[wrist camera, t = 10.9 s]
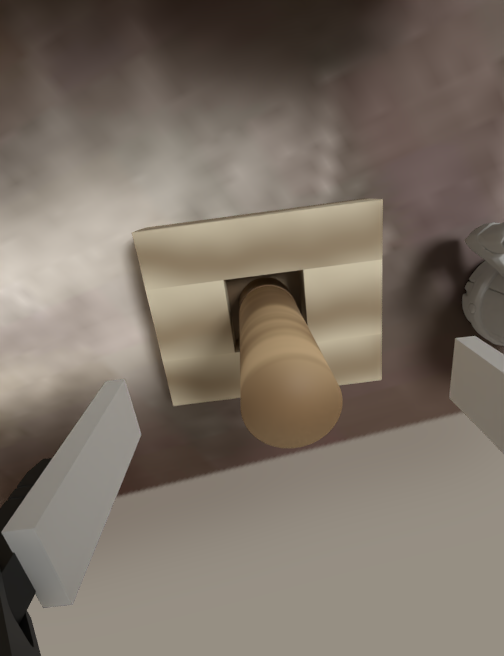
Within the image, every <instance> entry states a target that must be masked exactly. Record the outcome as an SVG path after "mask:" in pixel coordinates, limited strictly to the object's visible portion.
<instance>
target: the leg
mask: <svg viewBox="0 0 504 656" xmlns="http://www.w3.org/2000/svg"><path fill="white" fill-rule="evenodd" d="M239 326H240V396H241V415H242V419H243V421H244V424H245V425H246V427H247V429H248V430H249V431H250V432H251V434H252V435H254V436H255V437H256V438H257V439H259V440H260V441H262V442H264V443H266V444H268V445H271V446H275V447H280V448H297V447H303V446H306V445H309V444H311V443H314V442H316V441H318V440H319V439H321V438H322V437H324V436H325V435H326V434H327V433H328V432H329V431H330V430H331V429H332V428H333V427H334V425H335V424H336V423H337V421H338V419H339V416H340V414H341V410H342V393H341V390H340V387H339V385H338V383H337V381H336V379H335V377H334V375H333V373H332V371H331V370H330V368H329V366H328V364H327V362H326V360H325V358H324V356H323V354H322V353H321V351H320V349H319V347H318V345H317V343H316V341H315V339H314V337H313V335H312V334H311V332H310V330H309V328H308V326H307V324H306V322H305V320H304V318H303V316H302V315H301V313H300V311H299V309H298V307H297V304H296V302H295V300H294V298H293V296H292V295H291V294H290V292H289V290H288V288H287V287H286V286H285V285H284V284H283V283H282V282H281V281H279V280H277V279H274V278H270V277H262V278H258V279H255V280H253V281H251V282H250V283H249V284H247V285H246V287H245V288H244V289H243V291H242V293H241V295H240V299H239Z"/></svg>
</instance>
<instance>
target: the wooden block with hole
mask: <svg viewBox="0 0 504 656" xmlns="http://www.w3.org/2000/svg"><path fill="white" fill-rule="evenodd" d="M382 225H383V199H357V200H350V201H342V202H335V203H327V204H320V205H312V206H305V207H297V208H290V209H282V210H275V211H267V212H260V213H252V214H245V215H237V216H230V217H222V218H215V219H207V220H200V221H192V222H185V223H177V224H170V225H162V226H155V227H147V228H143V229H141V230H138V231H135V232H132V236H133V240H134V244H135V248H136V252H137V257H138V261H139V265H140V269H141V273H142V278H143V282H144V286H145V290H146V294H147V298H148V303H149V307H150V311H151V315H152V319H153V323H154V328H155V332H156V336H157V340H158V344H159V348H160V353H161V357H162V361H163V365H164V369H165V373H166V378H167V382H168V386H169V390H170V394H171V399H172V403H173V406H178V405H186V404H194V403H202V402H210V401H218V400H226V399H233V398H241V396H240V326H239V299H240V295H241V293H242V291H243V289H244V288H245V287H246V285H247V284H249V283H250V282H251V281H253V280H255V279H258V278H262V277H270V278H274V279H277V280H279V281H281V282H282V283H283V284H284V285H285V286H286V287H287V288H288V290H289V292H290V294H291V295H292V296H293V298H294V300H295V302H296V304H297V307H298V309H299V311H300V313H301V315H302V316H303V318H304V320H305V322H306V324H307V326H308V328H309V330H310V332H311V334H312V335H313V337H314V339H315V341H316V343H317V345H318V347H319V349H320V351H321V353H322V354H323V356H324V358H325V360H326V362H327V364H328V366H329V368H330V370H331V371H332V373H333V375H334V377H335V379H336V381H337V383H338V385H345V384H353V383H361V382H369V381H377V380H382Z"/></svg>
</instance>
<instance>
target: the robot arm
mask: <svg viewBox="0 0 504 656" xmlns="http://www.w3.org/2000/svg"><path fill="white" fill-rule="evenodd" d="M449 398H450V399H451V400H452V401H453V402H454V403H455V404H456V405H457V406H458V407H459V408H460V409H461V411H462V412H463V413H464V414H465V415H466V416H467V417H468V418H469V419H470V420H471V421H472V422H473V423H474V424H475V425H476V426H477V427H478V428H479V429H480V430H481V431H482V432H483V433H484V434H485V435H486V436H487V437H488V438H489V439H490V440H491V441H492V442H493V443H494V444H495V445H496V446H497V447H498V449H499V450H500V451H501V452H502V453H503V454H504V354H502V353H501V352H499V351H498V350H496V349H494V348H493V347H491V346H490V345H488V344H487V343H485V342H484V341H482V340H481V339H479V338H478V337H476V336H469V337H461V338H455V345H454V355H453V365H452V375H451V385H450V395H449ZM140 437H141V432H140V428H139V425H138V421H137V418H136V415H135V411H134V408H133V405H132V401H131V398H130V395H129V391H128V388H127V385H126V381H125V379H120V380H111V381H106V382H105V383H104V385H103V386H102V388H101V389H100V390H99V392H98V393H97V395H96V396H95V398H94V399H93V401H92V402H91V403H90V405H89V406H88V408H87V409H86V411H85V412H84V413H83V415H82V416H81V418H80V419H79V421H78V422H77V424H76V425H75V426H74V428H73V429H72V431H71V432H70V434H69V435H68V437H67V438H66V439H65V441H64V442H63V444H62V445H61V447H60V448H59V449H58V451H57V452H56V454H55V455H54V457H53V458H49V459H43V460H41V461H40V462H39V463H38V464H37V465H36V466H34V467H33V468H32V469H31V470H30V471H28V472H27V474H26V475H25V476H24V478H23V479H22V480H21V482H20V483H19V484H18V486H17V489H15V490H14V491H13V492H12V494H11V495H10V496H9V498H8V501H6V502H5V503H4V504H3V506H2V507H1V508H0V656H41V654H40V650H39V647H38V643H37V639H36V635H35V632H34V628H33V624H32V620H31V617H30V616H29V614H28V612H27V609H28V607H29V605H30V603H31V601H32V599H33V597H34V595H35V594H36V596H37V598H38V599H39V601H40V603H41V605H42V607H43V608H48V607H56V606H66V605H73V603H74V600H75V598H76V595H77V593H78V590H79V588H80V585H81V583H82V580H83V578H84V575H85V573H86V570H87V568H88V566H89V563H90V561H91V558H92V556H93V553H94V551H95V548H96V546H97V543H98V541H99V538H100V536H101V533H102V531H103V528H104V526H105V523H106V521H107V518H108V516H109V513H110V511H111V509H112V506H113V504H114V501H115V499H116V496H117V494H118V491H119V489H120V486H121V484H122V481H123V479H124V476H125V474H126V471H127V469H128V466H129V464H130V462H131V459H132V457H133V454H134V452H135V449H136V447H137V444H138V442H139V439H140Z"/></svg>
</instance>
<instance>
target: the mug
mask: <svg viewBox="0 0 504 656" xmlns="http://www.w3.org/2000/svg"><path fill="white" fill-rule="evenodd" d="M465 243H466V244H467V245H468V246H469V248H470V249H471V250H472V251H474V252H475V253H477V254H478V255H479V256H481V257H482V258H483V259H484V260H485V261H484V262H483V263H482V264H481V265H479V266H478V268H477V269H476V270H475V271H474V272H473V274H472V275H471V276H470V278H469V280H470V281H471V282H470V281H468V282H467V284H466V286H465V289H466V291H467V292H466V293H465V294H463V297H462V307H463V311H464V314H465V316H466V318H467V319H468V321H470V322H471V324H472V326H473V328H474V329H475V330H476V331H477V333H478V334H480V335H481V336H482V337H484V338H485V339H487V340H489V341H490V342H491V343H493V344H495V345H502V346H504V223H488V224H484V225H482V226H480V227H478V228H476V229H475V230H474V231H472V232H471V233H470V234H469V236H468V237H467V238H466V239H465Z"/></svg>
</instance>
